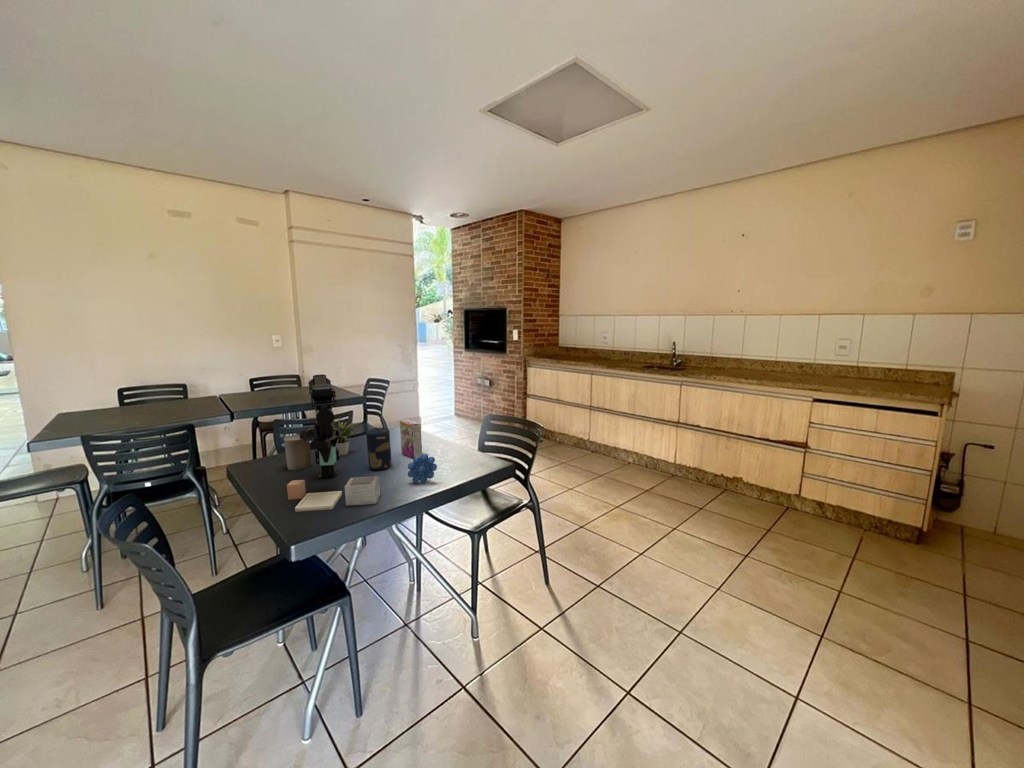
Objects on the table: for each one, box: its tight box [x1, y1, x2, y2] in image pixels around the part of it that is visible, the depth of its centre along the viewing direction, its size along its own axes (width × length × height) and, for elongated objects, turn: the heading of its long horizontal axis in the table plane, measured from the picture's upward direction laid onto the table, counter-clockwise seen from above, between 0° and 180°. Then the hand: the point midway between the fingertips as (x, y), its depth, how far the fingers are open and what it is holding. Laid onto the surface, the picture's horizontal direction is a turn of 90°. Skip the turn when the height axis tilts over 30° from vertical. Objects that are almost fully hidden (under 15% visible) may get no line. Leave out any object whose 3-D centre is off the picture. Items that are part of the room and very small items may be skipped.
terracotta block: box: [286, 479, 307, 501], centre depth 150 cm, size 4×4×6 cm
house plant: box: [334, 421, 356, 457], centre depth 195 cm, size 14×14×16 cm
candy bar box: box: [399, 419, 423, 459], centre depth 193 cm, size 11×5×16 cm, turn 45°
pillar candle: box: [283, 433, 313, 471], centre depth 180 cm, size 10×10×15 cm
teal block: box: [319, 447, 337, 467], centre depth 152 cm, size 4×4×6 cm
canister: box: [365, 427, 392, 471], centre depth 177 cm, size 10×10×18 cm
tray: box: [294, 490, 343, 513], centre depth 144 cm, size 12×12×1 cm
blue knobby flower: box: [407, 453, 438, 484], centre depth 161 cm, size 12×7×12 cm, turn 92°
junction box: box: [344, 475, 381, 507], centre depth 146 cm, size 8×10×7 cm
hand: (328, 460), depth 152 cm, fingers closed on teal block, 4 cm apart
